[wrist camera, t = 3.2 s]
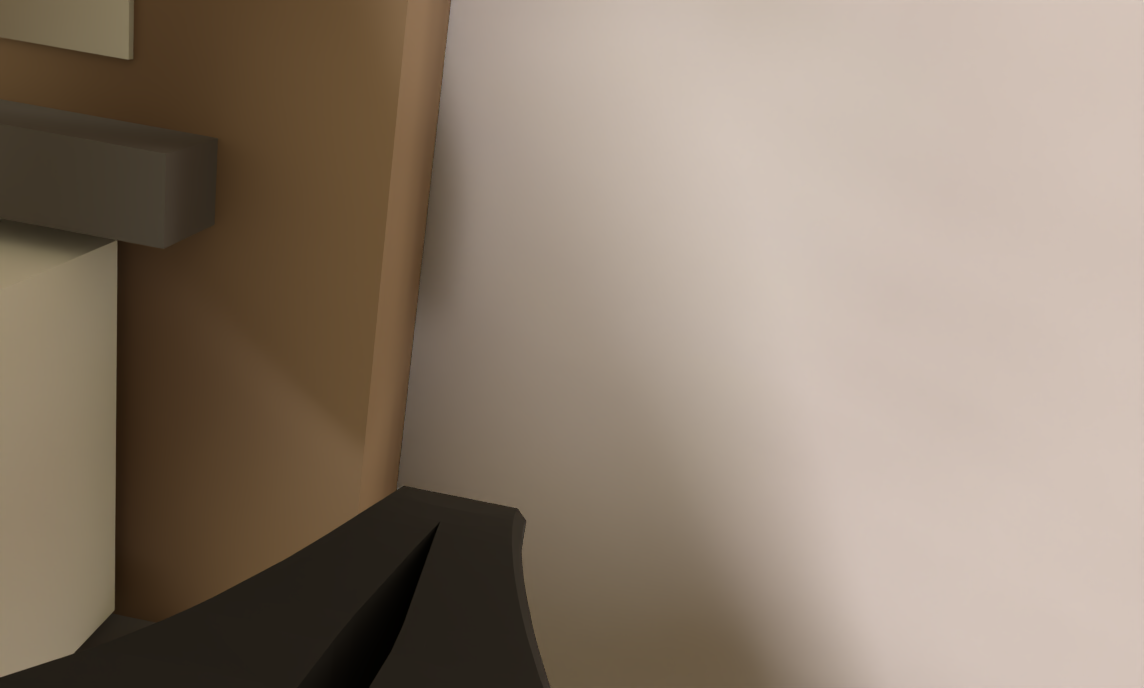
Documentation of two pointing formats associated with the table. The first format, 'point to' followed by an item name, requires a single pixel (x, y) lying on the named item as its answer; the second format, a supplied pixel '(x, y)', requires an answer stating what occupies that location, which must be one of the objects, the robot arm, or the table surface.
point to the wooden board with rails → (235, 257)
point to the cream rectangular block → (56, 440)
